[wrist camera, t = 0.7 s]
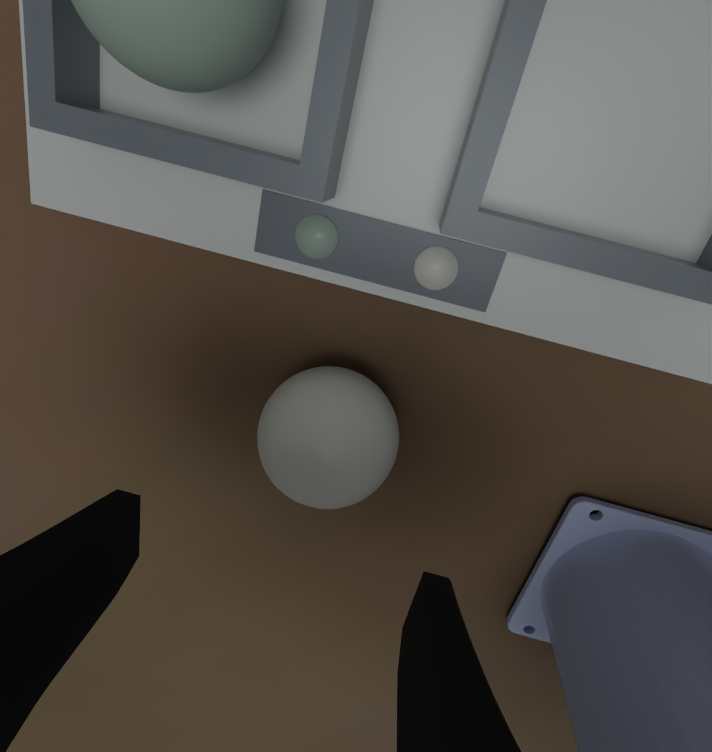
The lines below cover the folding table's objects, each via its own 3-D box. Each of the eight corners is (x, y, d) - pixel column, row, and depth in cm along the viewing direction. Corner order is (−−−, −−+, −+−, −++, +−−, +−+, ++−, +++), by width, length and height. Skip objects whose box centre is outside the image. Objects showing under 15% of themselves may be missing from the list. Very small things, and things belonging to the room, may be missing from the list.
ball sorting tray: (1024, -168, 11) (1218, -273, 8) (699, 372, 17) (750, 413, 14) (26, -399, 12) (-97, -570, 9) (51, 200, 18) (-17, 208, 15)
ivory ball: (417, 365, 18) (414, 433, 14) (384, 469, 20) (372, 558, 16) (290, 331, 18) (246, 387, 14) (271, 438, 21) (227, 517, 16)
